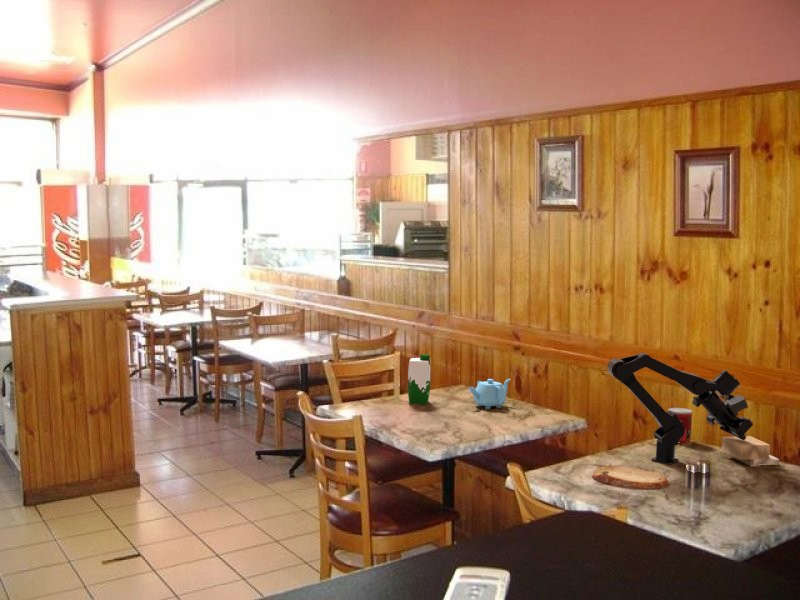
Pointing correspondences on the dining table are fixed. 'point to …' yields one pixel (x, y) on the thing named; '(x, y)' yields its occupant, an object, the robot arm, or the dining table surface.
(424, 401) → the milk carton
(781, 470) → the dining table surface
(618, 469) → the bread slice
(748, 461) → the board
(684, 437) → the canned food
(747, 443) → the light brown wooden block
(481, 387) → the teapot
